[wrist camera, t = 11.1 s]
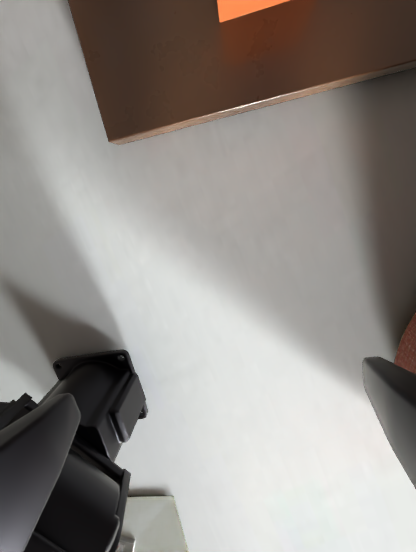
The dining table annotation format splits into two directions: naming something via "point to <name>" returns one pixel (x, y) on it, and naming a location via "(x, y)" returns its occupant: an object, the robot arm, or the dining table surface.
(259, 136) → the dining table surface
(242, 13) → the terracotta block
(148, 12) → the board
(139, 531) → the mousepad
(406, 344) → the planter
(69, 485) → the robot arm
